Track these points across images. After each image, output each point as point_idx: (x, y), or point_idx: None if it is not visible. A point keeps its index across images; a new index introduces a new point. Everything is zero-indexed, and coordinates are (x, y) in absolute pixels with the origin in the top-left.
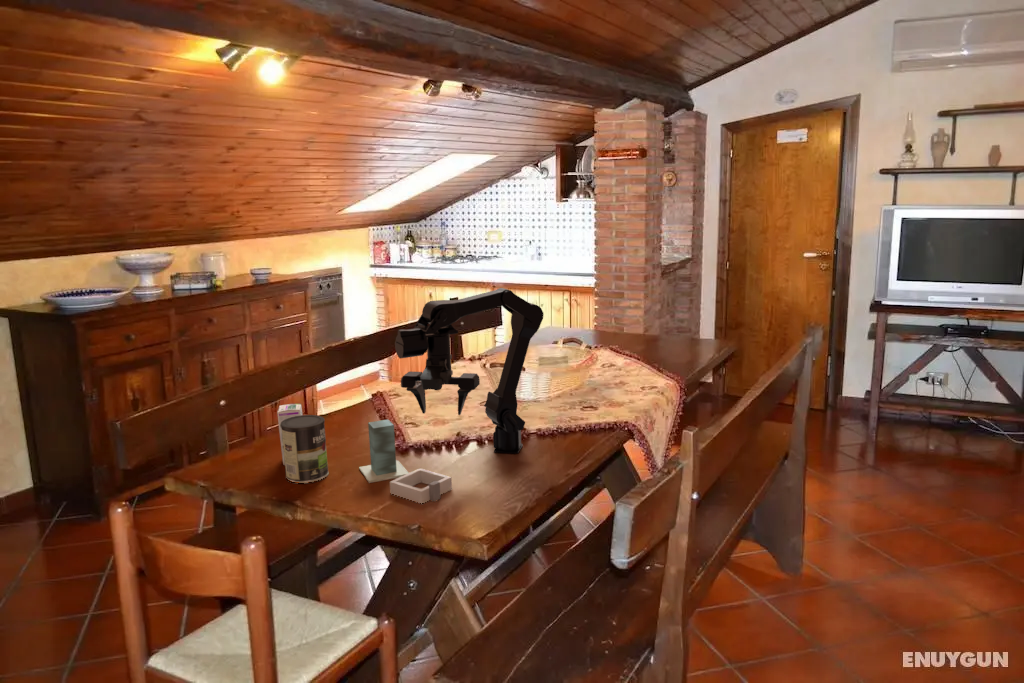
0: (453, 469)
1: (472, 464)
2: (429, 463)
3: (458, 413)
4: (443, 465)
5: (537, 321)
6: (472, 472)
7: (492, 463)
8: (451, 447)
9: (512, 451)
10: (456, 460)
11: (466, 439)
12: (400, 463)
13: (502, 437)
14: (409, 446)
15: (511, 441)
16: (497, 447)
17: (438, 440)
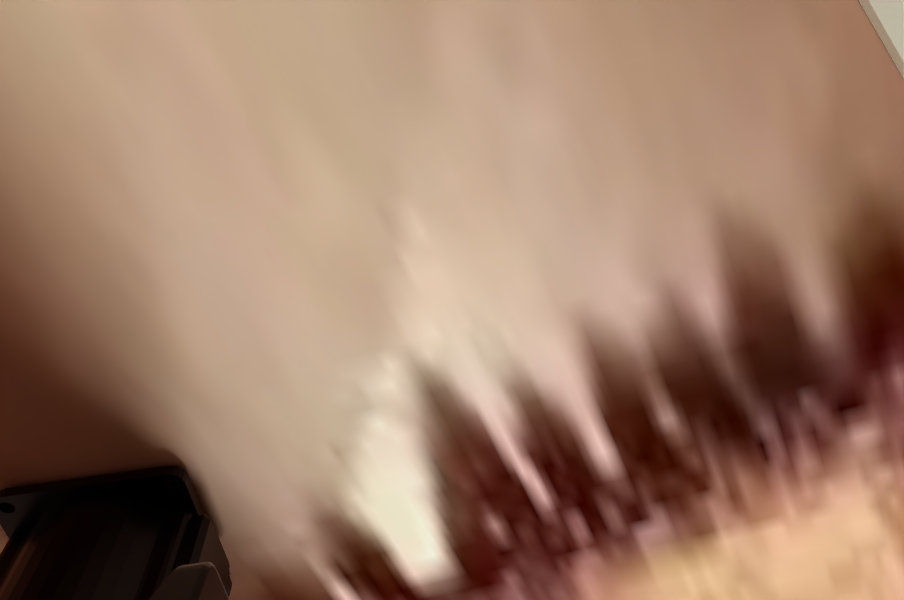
0: (322, 52)
1: (216, 214)
2: (603, 129)
3: (192, 586)
4: (459, 120)
5: None
6: (102, 30)
7: (64, 281)
8: (544, 464)
9: (34, 497)
10: (396, 257)
11: (495, 594)
12: (875, 4)
13: (76, 583)
14: (863, 400)
15: (15, 569)
16: (172, 517)
17: (679, 536)
